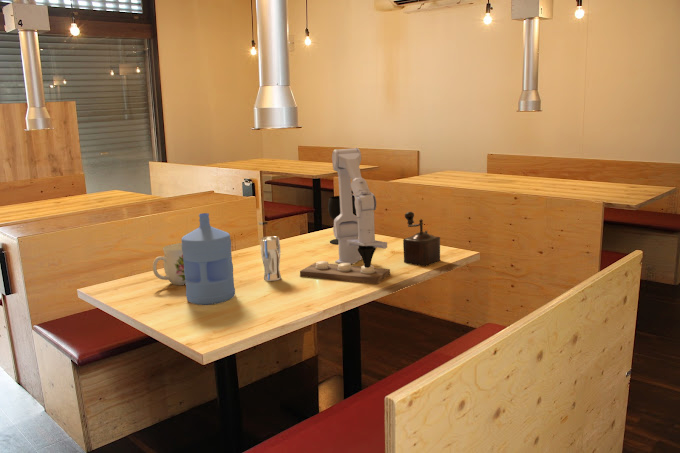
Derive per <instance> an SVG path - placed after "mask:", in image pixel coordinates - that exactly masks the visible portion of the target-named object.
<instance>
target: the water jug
mask: <svg viewBox="0 0 680 453" xmlns="http://www.w3.org/2000/svg"><path fill="white" fill-rule="evenodd" d="M209 215H210V214H209V213H207V212H206V213H202V212H201V213H199V214H198V217H199V220H198V221H199V227H197V228H195V229H193V230H192V231H190V232H188V233H187V234H185V235H184V236H182V237H181V243H182V252H183V261H184V275H185V282H186V284H185V292H186V293H185V296H186V301H187V302H189V303H190V304H192V305H198V306H205V305H206V306H208V305H209V306H210V305H217V304H222V303H225V302H228V301H230V300H232V299H233V298H234V297H235V295H236V287H235V283H234V264H233V259H232V258H233V257H232V240H231V234H230V233H229V232H227V231H224V230H223V229H219V228H216V227H213V226H211V224H210V217H209Z"/></svg>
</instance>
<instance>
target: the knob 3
mask: <svg viewBox="0 0 680 453" xmlns="http://www.w3.org/2000/svg"><path fill="white" fill-rule="evenodd" d="M374 268H375V266H374V265H372V264H371V266H370V267H369V268H367V267H365V266H364V265H362V266H361V273H362V274H373V273H375V270H374Z"/></svg>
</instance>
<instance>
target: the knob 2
mask: <svg viewBox="0 0 680 453" xmlns="http://www.w3.org/2000/svg"><path fill="white" fill-rule="evenodd" d="M337 264H338V271H340V272H348V271H351V270H352V268H351V266H352V264H350V263H337Z"/></svg>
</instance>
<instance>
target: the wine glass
mask: <svg viewBox="0 0 680 453" xmlns="http://www.w3.org/2000/svg"><path fill="white" fill-rule="evenodd" d="M328 198H329V199H328V203H327V204H328V205H327V210H328V214H329V218H331V219H332V220H333V221H334V219H335V218H336V217H337V216H339V215H340V197H339V195H334V196H330V197H328ZM341 223H343V222H341ZM329 243H330V244H331V245H338V246H339V244H338V239H336V238H334V239H330V240H329Z"/></svg>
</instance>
